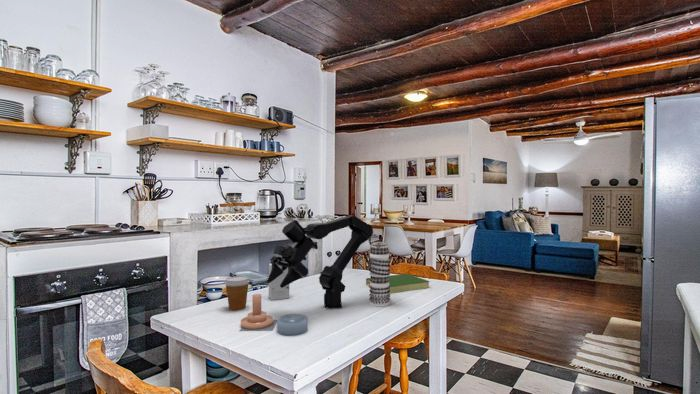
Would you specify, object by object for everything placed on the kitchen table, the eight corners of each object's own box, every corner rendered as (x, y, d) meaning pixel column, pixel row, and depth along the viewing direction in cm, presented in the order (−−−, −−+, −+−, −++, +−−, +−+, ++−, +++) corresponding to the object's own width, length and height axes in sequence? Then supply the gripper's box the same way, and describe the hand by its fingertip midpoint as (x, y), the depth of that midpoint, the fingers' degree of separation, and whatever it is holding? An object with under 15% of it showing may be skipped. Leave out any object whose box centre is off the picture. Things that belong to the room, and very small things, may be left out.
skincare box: (270, 300, 160) (270, 265, 160) (268, 297, 166) (267, 263, 166) (290, 298, 164) (290, 264, 163) (287, 294, 169) (286, 261, 169)
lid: (275, 318, 136) (275, 291, 136) (270, 329, 125) (269, 299, 125) (245, 319, 136) (245, 291, 136) (236, 330, 125) (236, 300, 125)
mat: (278, 320, 135) (278, 319, 135) (272, 331, 124) (272, 330, 124) (247, 320, 135) (247, 319, 135) (239, 332, 124) (239, 331, 124)
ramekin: (308, 325, 130) (308, 313, 130) (306, 336, 120) (306, 323, 120) (279, 325, 130) (279, 313, 130) (274, 336, 120) (274, 323, 120)
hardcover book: (407, 280, 197) (407, 273, 197) (429, 289, 180) (429, 281, 180) (364, 286, 186) (364, 278, 186) (384, 295, 169) (384, 287, 169)
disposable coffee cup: (229, 305, 154) (229, 275, 154) (252, 305, 154) (252, 275, 154) (221, 312, 145) (220, 281, 145) (245, 312, 144) (245, 281, 144)
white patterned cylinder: (370, 299, 161) (369, 240, 161) (391, 300, 159) (391, 241, 159) (366, 305, 152) (366, 243, 152) (389, 306, 150) (389, 244, 150)
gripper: (274, 234, 145) (247, 267, 138) (300, 239, 131) (272, 275, 124) (292, 253, 150) (267, 285, 143) (319, 259, 136) (293, 294, 129)
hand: (274, 284), depth 135 cm, fingers open, 9 cm apart
